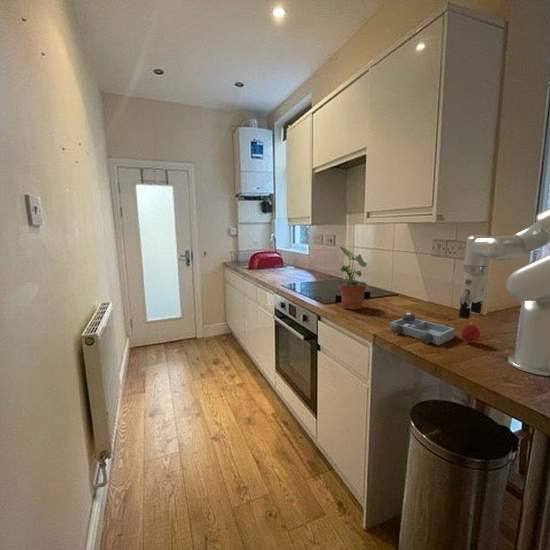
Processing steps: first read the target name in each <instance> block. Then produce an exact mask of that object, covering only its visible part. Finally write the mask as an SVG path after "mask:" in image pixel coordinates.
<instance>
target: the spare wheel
mask: <svg viewBox="0 0 550 550" xmlns="http://www.w3.org/2000/svg"><path fill="white" fill-rule="evenodd" d="M415 317H416V314H415V313H411V312H403V313H402V319H403V320H407V321H414V320H415Z"/></svg>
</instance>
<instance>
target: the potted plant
mask: <svg viewBox="0 0 550 550" xmlns="http://www.w3.org/2000/svg"><path fill="white" fill-rule="evenodd" d="M340 250H341V251H342V252H343V254H344V255H346V257H347V258H348V260H349V262H348V263H349V265H342V266H341V268H340V269H339V270H340V271H341V272H342V273H346V275H344V277H345V280H343V281H341V282H339V283H338V289H339V291H340V294H341V295H340V296H341V297H340V298H341V305H342V308H343V309H345V310H349V309H350V310H361V309H362V307H363V302H364V295H365V291H366V290H367V286H368V285H367V282H366V281H365V282H364V281H358V280H355V278H356V276H357V275H358V276H359V277H362V271H361V270H356V268H354V269H353V266H354V267H356V265H357V263H358V265H359V266H360V267H361V268H366V267H367V266H368V265H369V262H365V261H364V260H363V258H362V255H361V254H360V253H359V254H358V255H355V254H354V253H352V252H351V251H349V250H348V249H346V248H344V247H343V246H340ZM352 260H353V262H352V263H354V262H355V265H354V264H352V265H351V261H352ZM355 270H356V271H355Z"/></svg>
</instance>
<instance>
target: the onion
mask: <svg viewBox="0 0 550 550" xmlns="http://www.w3.org/2000/svg"><path fill="white" fill-rule="evenodd" d="M460 331H461V332H460V333H461V338H462V339H463V340H464V341H465V342H467V343H468V344H473V343H474V342H476V341H478V340H479V339H480V336H481V332H480V330H479V329H478V327H476V326H475V323H474V322H470V323H469V324H467V325H465V326H463V328H462V329H461V330H460Z"/></svg>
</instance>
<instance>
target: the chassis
mask: <svg viewBox="0 0 550 550" xmlns="http://www.w3.org/2000/svg"><path fill="white" fill-rule="evenodd" d="M402 318H403V317H402ZM402 318H399V319H396V320H393V321H391V322H389V330H390V329H391V330H392V331H391V333H392V332H394V333H397V334H399V335H402V334H401V333H403V334H406V335H409V336H412V337H415V338H414V339H416V338H418V339H417V340H419V339H420V340H419V341H420V342H421V343H422V344H424V343H425V344H424V345H428V344H432V343H433V345H435V344H436V346H441V345H443V344H445V343H446V342H448V341H451V340H452V339H454V338H455V333H456V328H454V327H451V325H449V324H446V323H443V324H437V323H435V322H434V323H433V322H430V321H428V320H427V321H426V320H422V318H420V317H419V316H415V320H414V321H407V320H403V319H402ZM406 335H405V336H406ZM409 336H408V337H409ZM412 337H411V338H412ZM440 344H441V345H440Z"/></svg>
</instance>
